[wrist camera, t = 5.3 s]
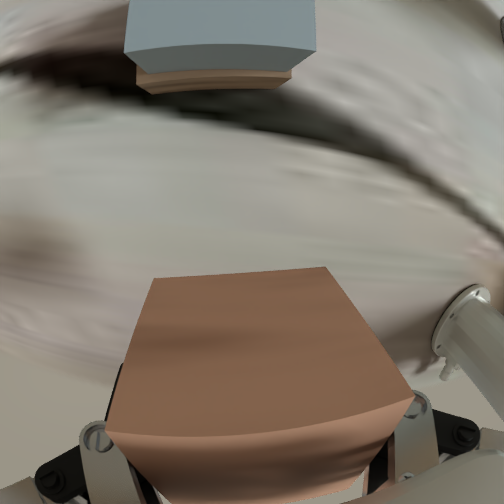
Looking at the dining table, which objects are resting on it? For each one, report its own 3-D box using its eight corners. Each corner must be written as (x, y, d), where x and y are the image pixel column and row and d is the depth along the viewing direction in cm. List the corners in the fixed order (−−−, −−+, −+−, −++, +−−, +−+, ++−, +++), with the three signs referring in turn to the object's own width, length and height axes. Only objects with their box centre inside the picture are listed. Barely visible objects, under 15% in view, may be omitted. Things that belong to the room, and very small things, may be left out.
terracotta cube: (309, 379, 12) (348, 488, 7) (182, 390, 12) (177, 508, 6) (325, 266, 10) (415, 395, 4) (153, 278, 9) (104, 430, 4)
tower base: (273, 89, 19) (291, 78, 14) (153, 95, 18) (136, 84, 13) (271, -6, 15) (286, -34, 10) (157, -2, 14) (145, -31, 9)
